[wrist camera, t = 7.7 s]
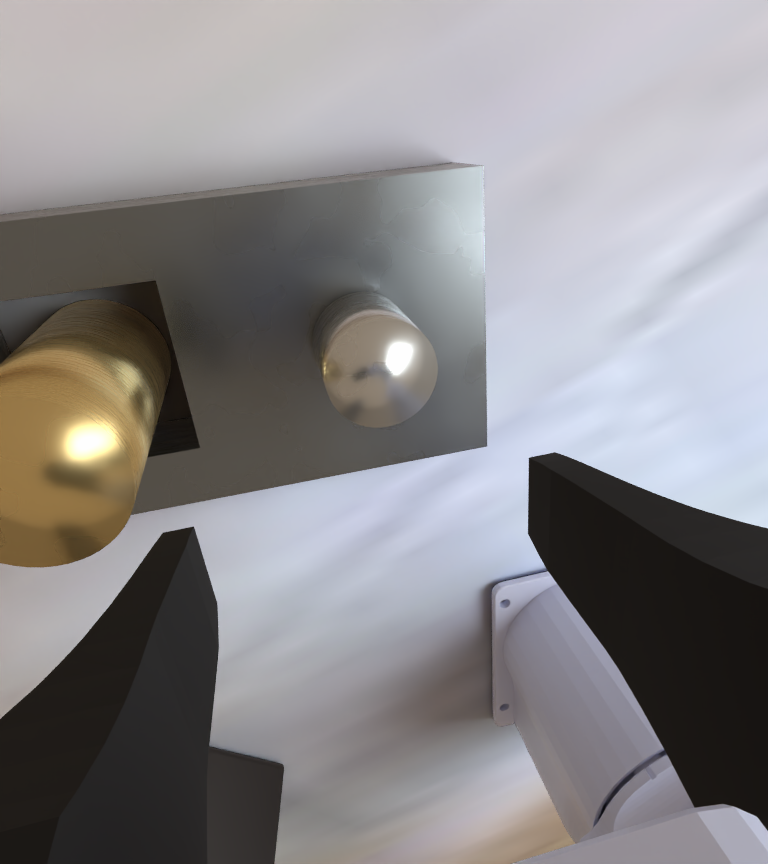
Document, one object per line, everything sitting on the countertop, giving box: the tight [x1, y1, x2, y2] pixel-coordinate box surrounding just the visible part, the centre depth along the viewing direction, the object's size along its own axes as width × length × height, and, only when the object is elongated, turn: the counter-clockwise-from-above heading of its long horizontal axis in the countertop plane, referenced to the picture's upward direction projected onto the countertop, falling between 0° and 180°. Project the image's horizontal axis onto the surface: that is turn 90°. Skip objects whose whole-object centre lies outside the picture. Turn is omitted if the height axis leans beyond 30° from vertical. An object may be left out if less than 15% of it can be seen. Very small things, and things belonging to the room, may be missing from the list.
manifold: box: [0, 163, 487, 515], centre depth 17 cm, size 9×16×6 cm, turn 96°
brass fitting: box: [0, 299, 171, 567], centre depth 16 cm, size 4×4×8 cm
